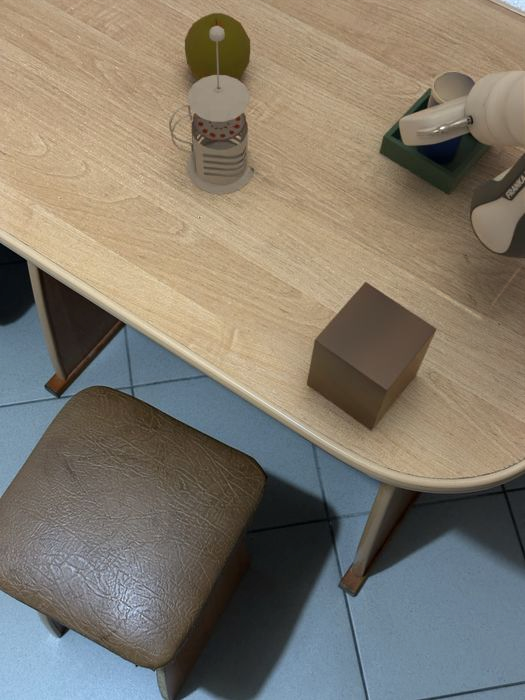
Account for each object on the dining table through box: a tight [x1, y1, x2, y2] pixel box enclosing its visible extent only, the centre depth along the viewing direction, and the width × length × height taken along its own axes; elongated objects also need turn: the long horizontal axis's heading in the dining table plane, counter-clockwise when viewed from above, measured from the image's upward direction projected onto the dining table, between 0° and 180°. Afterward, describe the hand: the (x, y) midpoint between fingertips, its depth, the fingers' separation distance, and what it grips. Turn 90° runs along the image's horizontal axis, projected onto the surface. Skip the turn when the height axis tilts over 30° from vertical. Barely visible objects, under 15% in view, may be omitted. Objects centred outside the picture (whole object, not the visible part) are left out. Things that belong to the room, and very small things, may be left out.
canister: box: [416, 70, 477, 165], centre depth 117 cm, size 6×6×12 cm
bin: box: [379, 87, 492, 196], centre depth 121 cm, size 12×12×4 cm
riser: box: [306, 281, 438, 432], centre depth 100 cm, size 10×10×12 cm
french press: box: [168, 26, 255, 195], centre depth 109 cm, size 10×12×25 cm
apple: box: [184, 12, 251, 81], centre depth 124 cm, size 10×10×11 cm
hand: (445, 110), depth 116 cm, fingers closed on canister, 6 cm apart
